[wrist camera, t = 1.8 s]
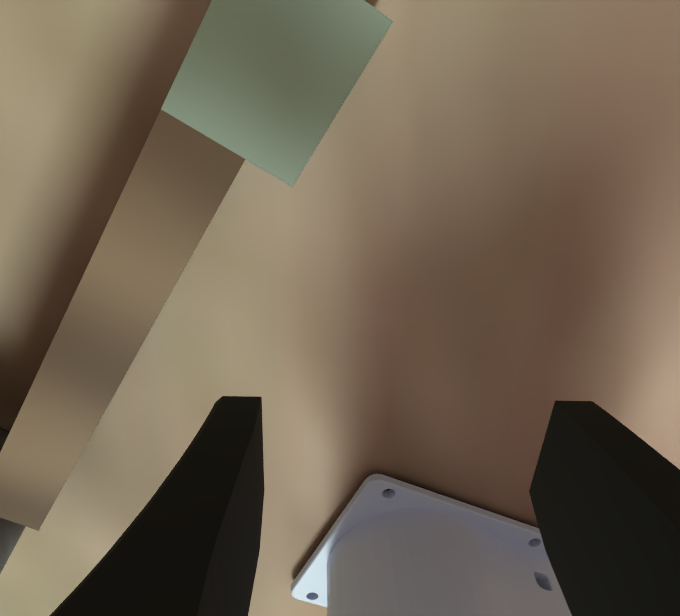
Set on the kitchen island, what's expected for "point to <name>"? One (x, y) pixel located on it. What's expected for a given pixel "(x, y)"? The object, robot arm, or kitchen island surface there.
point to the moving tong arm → (183, 208)
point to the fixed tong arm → (7, 524)
